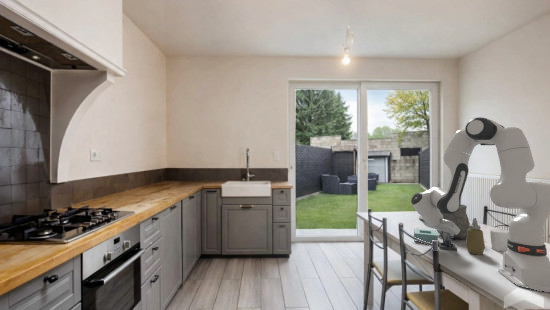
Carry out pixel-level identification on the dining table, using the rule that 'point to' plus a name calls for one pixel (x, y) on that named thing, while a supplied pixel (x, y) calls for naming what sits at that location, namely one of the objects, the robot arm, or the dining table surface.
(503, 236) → the white cup
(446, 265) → the dining table surface
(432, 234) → the socket block
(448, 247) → the mount collar
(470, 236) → the squeeze bottle
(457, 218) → the vessel
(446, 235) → the spigot
